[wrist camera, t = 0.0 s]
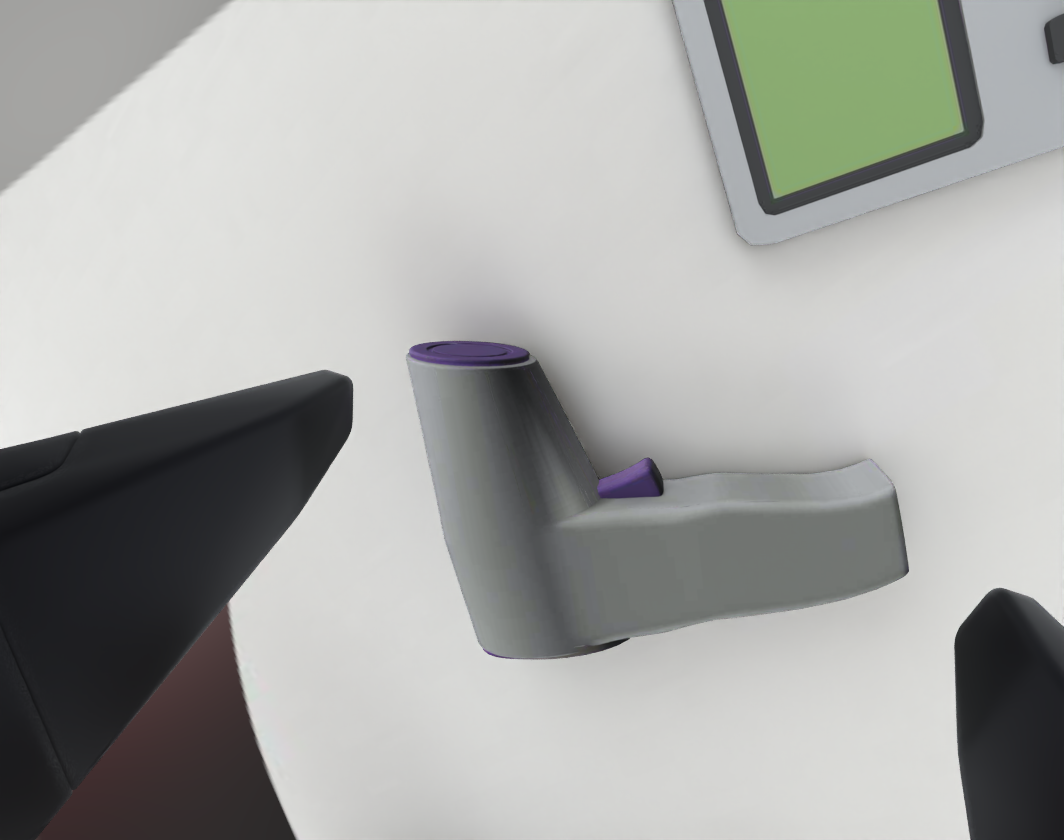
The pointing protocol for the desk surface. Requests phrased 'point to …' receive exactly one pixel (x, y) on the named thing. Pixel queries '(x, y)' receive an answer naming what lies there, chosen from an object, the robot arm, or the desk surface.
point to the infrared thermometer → (623, 521)
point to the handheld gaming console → (868, 100)
